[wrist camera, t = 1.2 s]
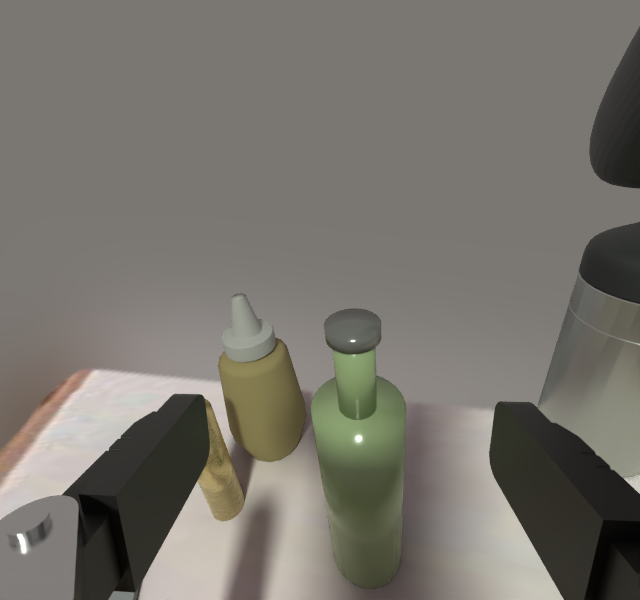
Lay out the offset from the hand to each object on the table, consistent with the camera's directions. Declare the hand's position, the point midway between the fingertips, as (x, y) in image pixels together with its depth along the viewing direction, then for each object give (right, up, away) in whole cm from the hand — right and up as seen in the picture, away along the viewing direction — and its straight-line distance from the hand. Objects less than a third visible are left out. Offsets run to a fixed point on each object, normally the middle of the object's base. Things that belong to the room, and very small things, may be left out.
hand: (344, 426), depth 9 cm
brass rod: (-9, -15, +22) cm, 28 cm away
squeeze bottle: (-6, -12, +28) cm, 31 cm away
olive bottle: (+3, -16, +18) cm, 24 cm away
